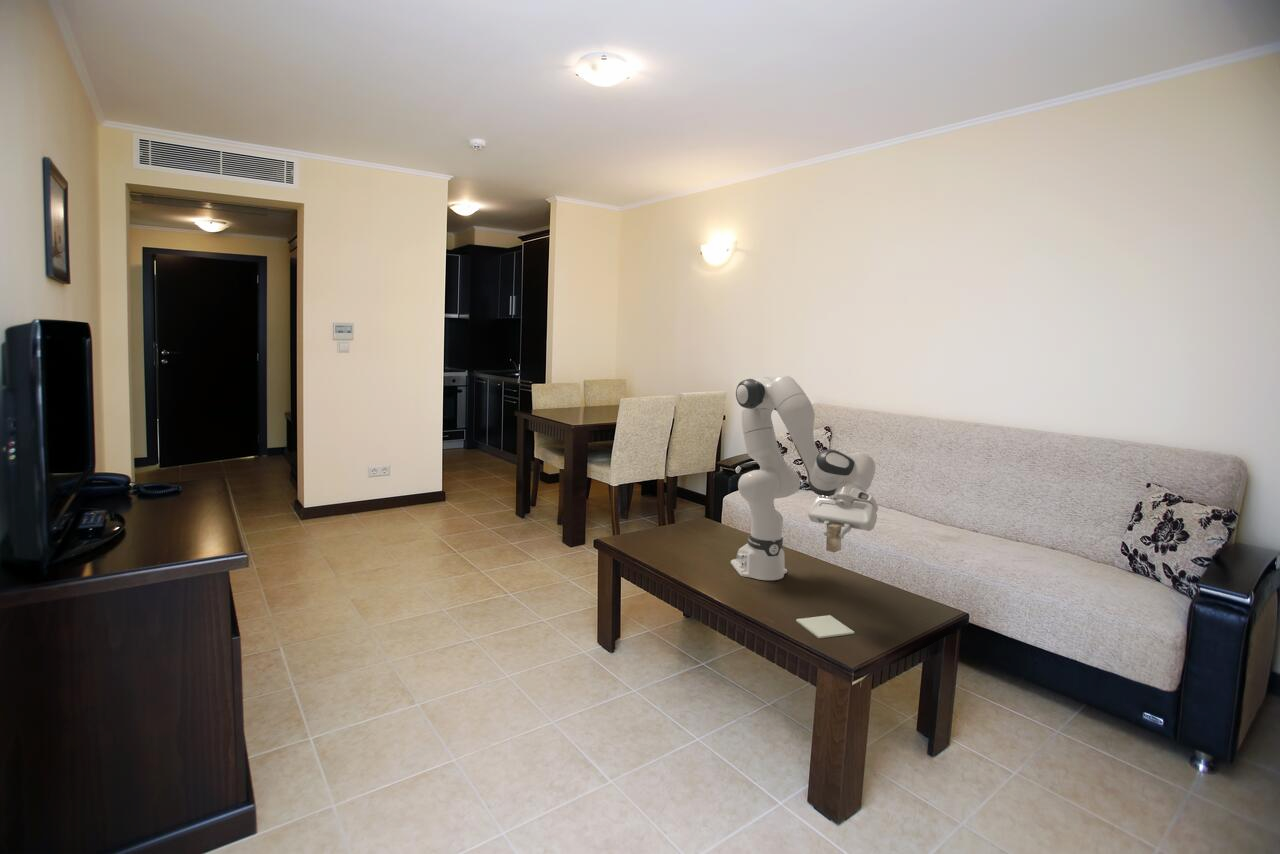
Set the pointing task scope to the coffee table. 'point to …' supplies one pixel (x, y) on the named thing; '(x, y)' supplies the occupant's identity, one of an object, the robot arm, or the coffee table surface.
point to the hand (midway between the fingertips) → (833, 536)
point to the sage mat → (824, 626)
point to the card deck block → (833, 538)
